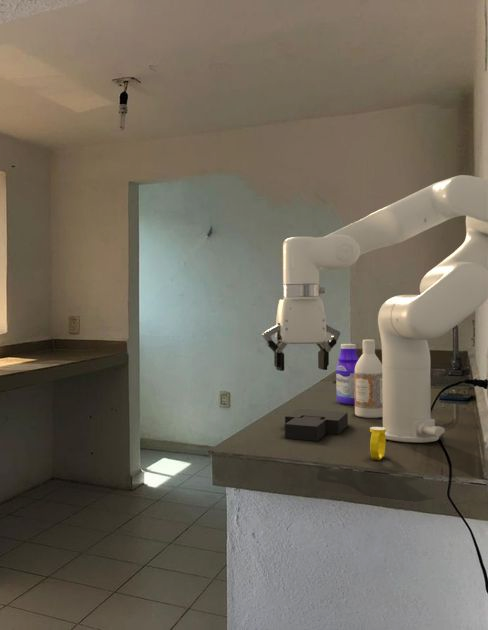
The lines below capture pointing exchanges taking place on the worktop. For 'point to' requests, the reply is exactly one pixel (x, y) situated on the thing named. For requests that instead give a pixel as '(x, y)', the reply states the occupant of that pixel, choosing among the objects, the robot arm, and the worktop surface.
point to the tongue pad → (305, 428)
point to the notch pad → (323, 418)
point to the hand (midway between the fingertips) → (301, 369)
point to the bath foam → (368, 383)
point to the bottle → (346, 374)
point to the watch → (377, 442)
